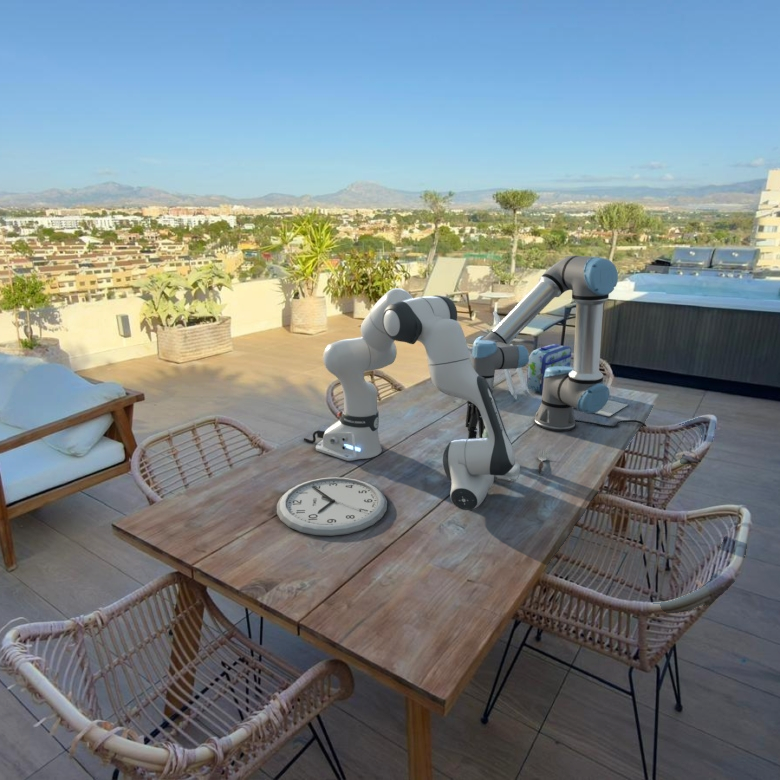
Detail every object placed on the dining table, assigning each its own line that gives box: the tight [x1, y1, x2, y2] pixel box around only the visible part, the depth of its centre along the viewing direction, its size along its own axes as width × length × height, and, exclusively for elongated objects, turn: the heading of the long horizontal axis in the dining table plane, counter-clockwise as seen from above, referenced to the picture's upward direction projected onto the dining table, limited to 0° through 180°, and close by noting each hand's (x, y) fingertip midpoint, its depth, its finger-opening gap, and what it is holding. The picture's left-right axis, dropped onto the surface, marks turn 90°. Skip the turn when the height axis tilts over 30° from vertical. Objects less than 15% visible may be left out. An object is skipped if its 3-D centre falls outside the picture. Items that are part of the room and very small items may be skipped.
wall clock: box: [276, 476, 388, 537], centre depth 142 cm, size 30×2×30 cm
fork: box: [538, 449, 548, 474], centre depth 169 cm, size 3×16×2 cm, turn 160°
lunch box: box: [526, 343, 572, 394], centre depth 247 cm, size 26×11×21 cm, turn 134°
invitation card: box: [595, 399, 629, 418], centre depth 226 cm, size 21×1×15 cm
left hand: (490, 456), depth 160 cm, fingers closed on jar, 5 cm apart
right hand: (475, 453), depth 177 cm, fingers closed on lid, 6 cm apart
